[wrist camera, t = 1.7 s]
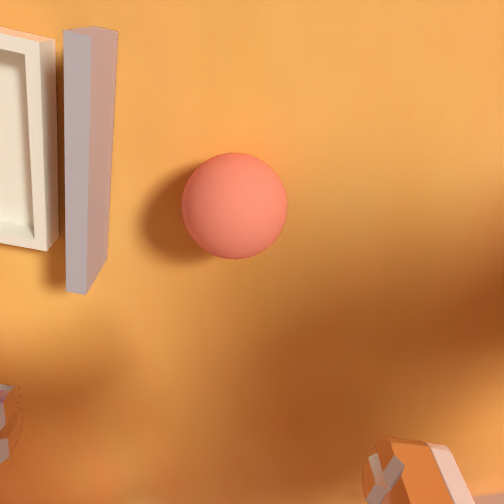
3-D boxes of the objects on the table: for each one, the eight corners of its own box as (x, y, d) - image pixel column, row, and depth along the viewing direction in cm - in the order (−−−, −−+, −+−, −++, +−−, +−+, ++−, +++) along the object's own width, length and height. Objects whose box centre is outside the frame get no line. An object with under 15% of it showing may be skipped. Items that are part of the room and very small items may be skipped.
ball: (294, 151, 21) (305, 189, 17) (271, 236, 23) (275, 288, 19) (196, 130, 20) (181, 163, 16) (182, 219, 23) (166, 268, 19)
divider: (118, 31, 18) (91, 36, 15) (106, 259, 24) (86, 294, 21) (94, 26, 18) (63, 29, 15) (89, 255, 24) (65, 291, 21)
